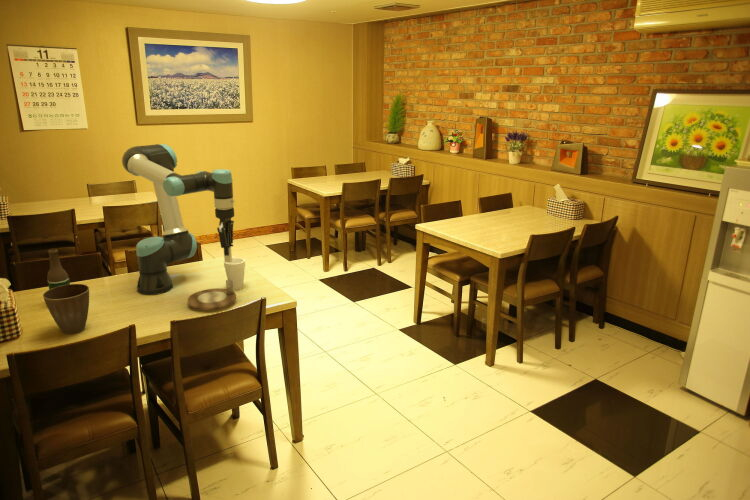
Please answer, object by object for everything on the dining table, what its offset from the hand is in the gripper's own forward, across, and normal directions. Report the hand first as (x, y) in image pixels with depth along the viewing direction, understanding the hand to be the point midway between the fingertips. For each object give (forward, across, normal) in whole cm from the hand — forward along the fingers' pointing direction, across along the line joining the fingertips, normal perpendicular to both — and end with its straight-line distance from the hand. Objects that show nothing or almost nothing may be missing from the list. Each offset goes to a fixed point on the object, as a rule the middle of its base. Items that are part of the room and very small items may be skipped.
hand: (228, 261), depth 217 cm
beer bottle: (+19, -11, +70) cm, 73 cm away
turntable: (+17, -3, +7) cm, 19 cm away
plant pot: (+19, -33, +50) cm, 63 cm away
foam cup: (+19, +16, +3) cm, 25 cm away
